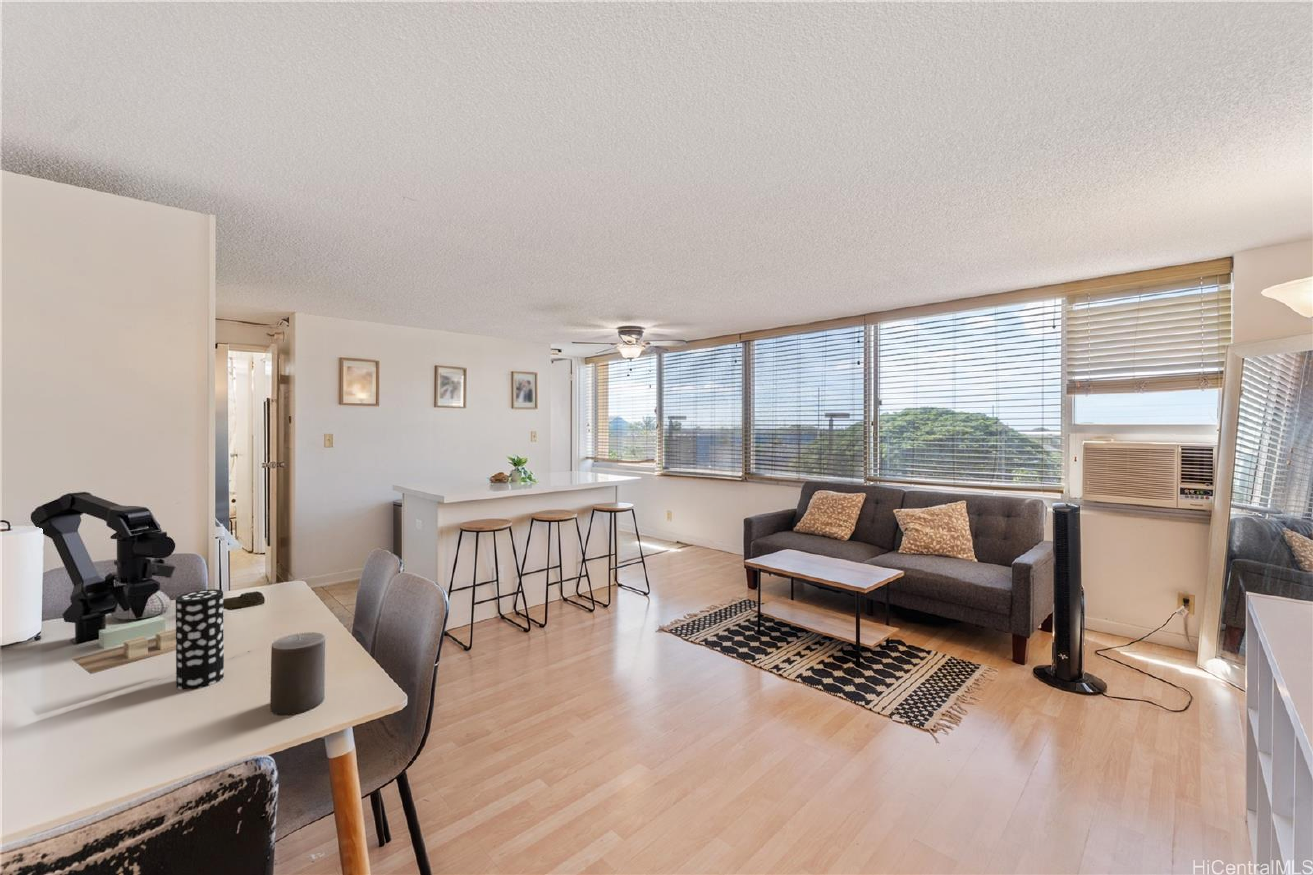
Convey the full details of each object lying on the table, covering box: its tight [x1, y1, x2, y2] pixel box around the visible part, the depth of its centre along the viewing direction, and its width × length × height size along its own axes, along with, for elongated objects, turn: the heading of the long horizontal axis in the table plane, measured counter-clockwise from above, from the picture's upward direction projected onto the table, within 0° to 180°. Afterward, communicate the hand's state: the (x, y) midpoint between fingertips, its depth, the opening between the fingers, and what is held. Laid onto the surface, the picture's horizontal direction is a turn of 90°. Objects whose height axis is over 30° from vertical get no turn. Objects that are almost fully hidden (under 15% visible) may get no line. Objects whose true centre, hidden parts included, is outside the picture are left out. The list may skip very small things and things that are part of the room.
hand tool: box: [223, 590, 266, 610], centre depth 169 cm, size 19×4×5 cm, turn 124°
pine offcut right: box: [155, 628, 176, 650], centre depth 139 cm, size 4×4×4 cm
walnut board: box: [72, 637, 176, 675], centre depth 137 cm, size 14×24×2 cm, turn 149°
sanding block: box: [98, 616, 166, 649], centre depth 143 cm, size 4×12×6 cm, turn 149°
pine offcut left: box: [123, 637, 149, 658], centre depth 134 cm, size 4×4×4 cm
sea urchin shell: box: [110, 590, 172, 621], centre depth 164 cm, size 13×14×8 cm
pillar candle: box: [269, 631, 326, 716], centre depth 115 cm, size 10×10×15 cm
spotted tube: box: [175, 588, 225, 691], centre depth 123 cm, size 8×8×20 cm
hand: (132, 614), depth 143 cm, fingers open, 9 cm apart
